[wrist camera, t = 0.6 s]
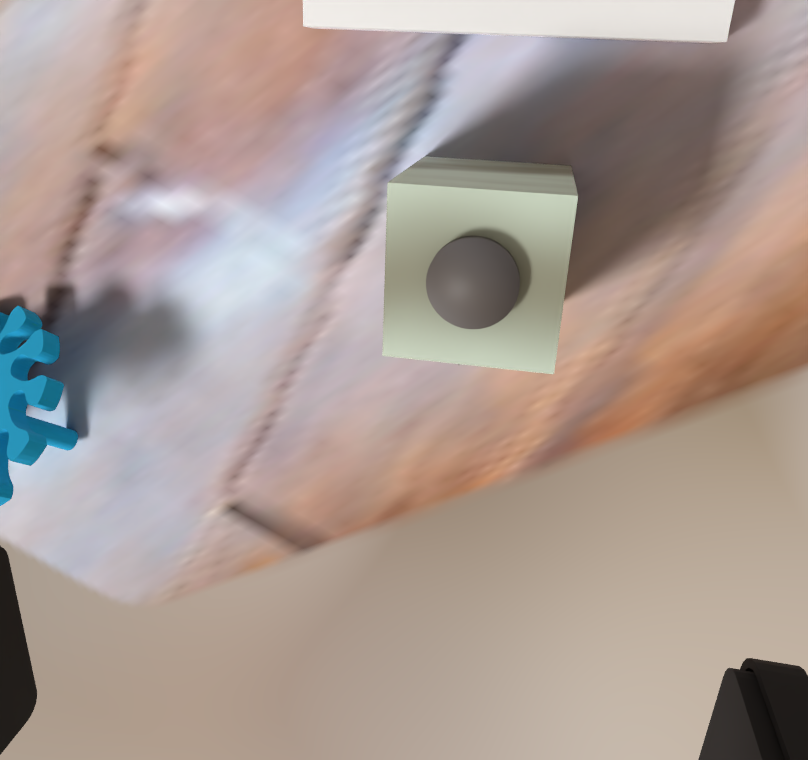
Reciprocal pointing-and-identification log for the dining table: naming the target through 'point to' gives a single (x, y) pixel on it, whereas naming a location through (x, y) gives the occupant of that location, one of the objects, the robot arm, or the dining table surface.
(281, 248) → the dining table surface
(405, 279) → the block
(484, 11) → the press bed
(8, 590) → the robot arm
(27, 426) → the gear
